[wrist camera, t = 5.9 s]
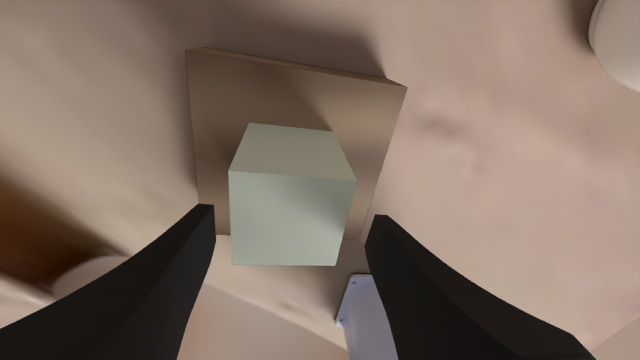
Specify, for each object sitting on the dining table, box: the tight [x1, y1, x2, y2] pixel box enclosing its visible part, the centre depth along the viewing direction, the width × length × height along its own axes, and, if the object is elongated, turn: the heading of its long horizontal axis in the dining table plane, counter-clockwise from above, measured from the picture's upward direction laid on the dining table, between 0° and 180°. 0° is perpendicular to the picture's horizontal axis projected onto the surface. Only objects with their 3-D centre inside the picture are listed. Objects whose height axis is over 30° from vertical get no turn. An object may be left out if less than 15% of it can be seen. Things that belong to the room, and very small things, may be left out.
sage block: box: [228, 123, 357, 266], centre depth 13 cm, size 5×5×6 cm
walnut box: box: [185, 47, 408, 240], centre depth 18 cm, size 12×12×4 cm
